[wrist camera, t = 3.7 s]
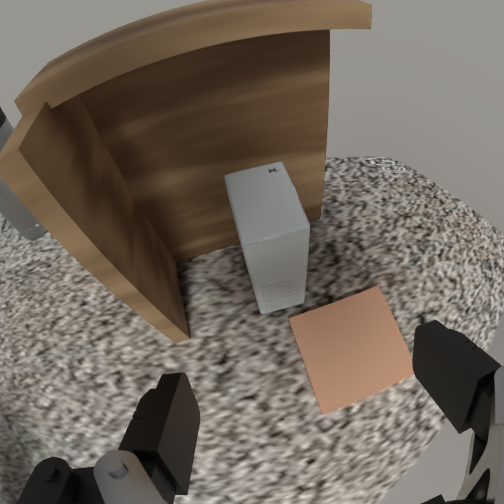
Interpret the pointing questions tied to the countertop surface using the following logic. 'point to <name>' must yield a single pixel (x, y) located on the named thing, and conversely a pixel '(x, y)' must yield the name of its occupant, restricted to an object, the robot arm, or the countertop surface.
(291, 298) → the skincare box
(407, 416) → the countertop surface
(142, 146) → the walnut cubby
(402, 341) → the terracotta tile
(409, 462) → the countertop surface
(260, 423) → the countertop surface
